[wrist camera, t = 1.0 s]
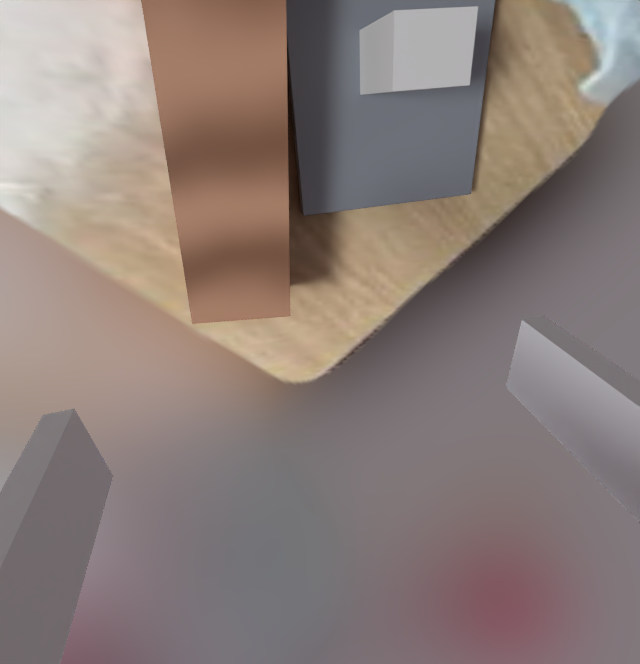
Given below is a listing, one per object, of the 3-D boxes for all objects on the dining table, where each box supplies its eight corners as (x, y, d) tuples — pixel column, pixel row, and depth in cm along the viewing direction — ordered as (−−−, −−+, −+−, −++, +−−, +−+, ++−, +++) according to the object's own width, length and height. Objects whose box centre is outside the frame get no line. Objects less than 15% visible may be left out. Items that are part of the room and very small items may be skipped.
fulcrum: (267, -138, 18) (286, -237, 13) (500, -135, 20) (598, -220, 15) (301, 212, 26) (320, 237, 21) (463, 191, 28) (517, 209, 23)
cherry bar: (138, -112, 18) (112, -181, 13) (269, -93, 19) (284, -152, 15) (196, 290, 28) (192, 323, 23) (280, 285, 29) (290, 316, 25)
